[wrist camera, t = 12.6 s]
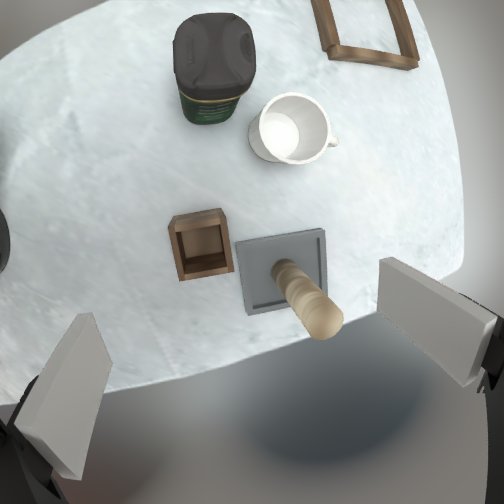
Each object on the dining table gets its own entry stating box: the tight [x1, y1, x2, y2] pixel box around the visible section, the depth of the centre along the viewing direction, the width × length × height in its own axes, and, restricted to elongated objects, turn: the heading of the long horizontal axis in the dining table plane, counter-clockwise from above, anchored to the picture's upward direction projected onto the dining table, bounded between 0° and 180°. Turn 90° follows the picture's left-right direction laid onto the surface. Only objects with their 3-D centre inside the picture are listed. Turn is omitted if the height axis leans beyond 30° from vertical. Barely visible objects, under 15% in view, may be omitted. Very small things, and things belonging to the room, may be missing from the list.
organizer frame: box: [311, 0, 420, 71], centre depth 35 cm, size 19×19×4 cm
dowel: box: [271, 259, 344, 340], centre depth 39 cm, size 4×4×17 cm
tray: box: [236, 228, 328, 316], centre depth 47 cm, size 14×12×2 cm
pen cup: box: [168, 208, 234, 281], centre depth 40 cm, size 7×7×8 cm
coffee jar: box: [173, 13, 256, 124], centre depth 29 cm, size 10×8×19 cm
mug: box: [248, 92, 339, 165], centre depth 37 cm, size 11×9×10 cm
